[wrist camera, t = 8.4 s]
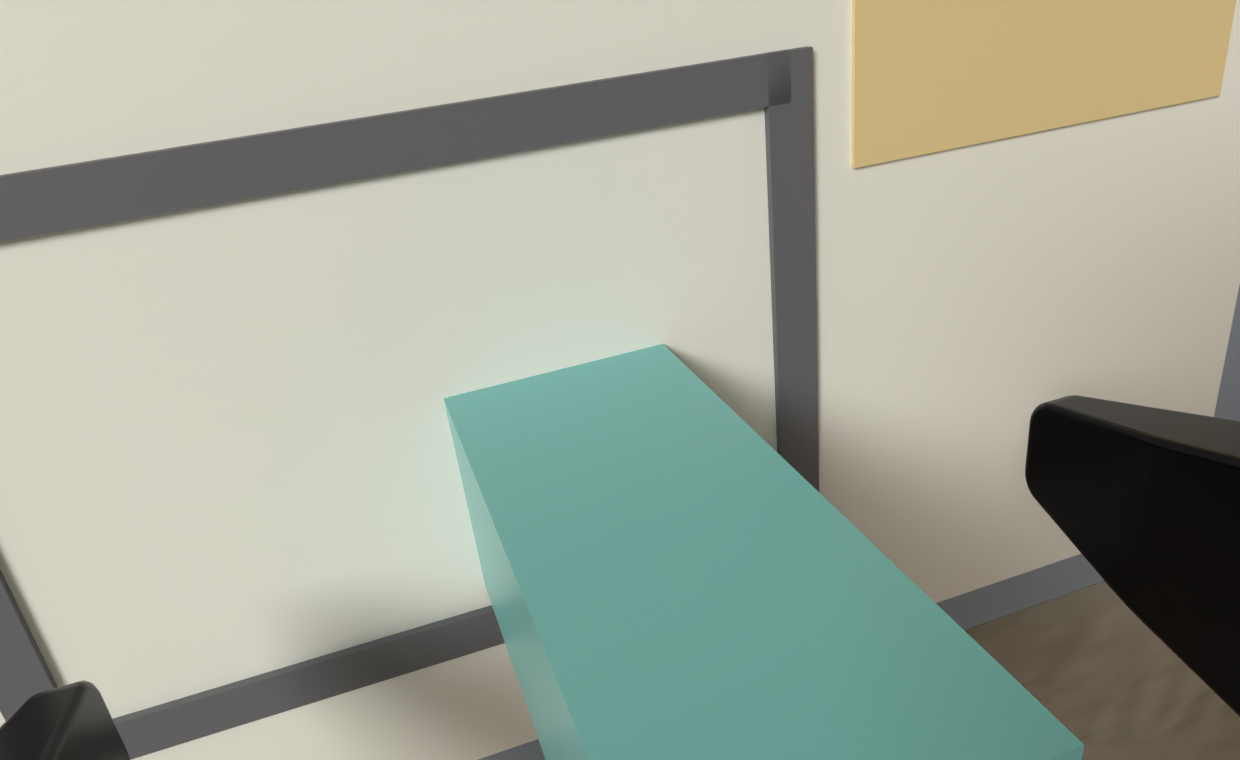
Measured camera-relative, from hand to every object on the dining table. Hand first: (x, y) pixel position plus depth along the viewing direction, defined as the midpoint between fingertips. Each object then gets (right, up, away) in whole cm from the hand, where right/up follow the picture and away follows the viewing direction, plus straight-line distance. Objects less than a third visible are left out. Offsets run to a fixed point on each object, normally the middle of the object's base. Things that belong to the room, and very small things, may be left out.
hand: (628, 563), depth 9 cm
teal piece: (-1, +1, +2) cm, 2 cm away
